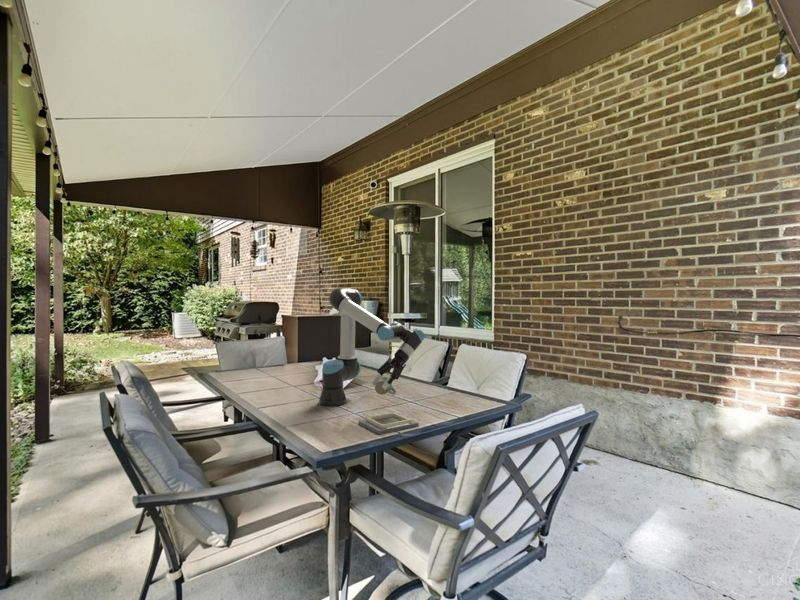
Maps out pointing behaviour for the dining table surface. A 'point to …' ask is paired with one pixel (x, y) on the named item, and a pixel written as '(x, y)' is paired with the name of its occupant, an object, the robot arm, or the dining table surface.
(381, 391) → the ceramic mug
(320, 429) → the dining table surface
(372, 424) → the charcoal pocket board
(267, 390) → the dining table surface
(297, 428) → the dining table surface
